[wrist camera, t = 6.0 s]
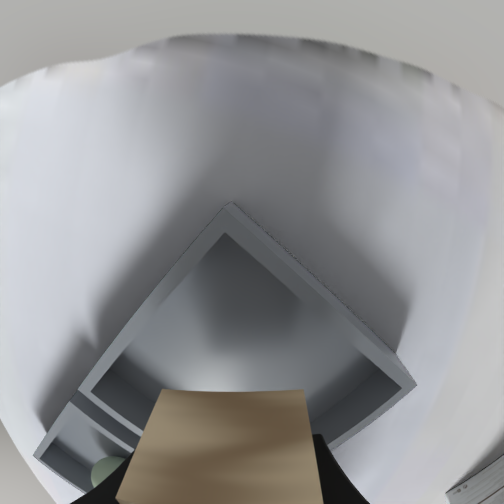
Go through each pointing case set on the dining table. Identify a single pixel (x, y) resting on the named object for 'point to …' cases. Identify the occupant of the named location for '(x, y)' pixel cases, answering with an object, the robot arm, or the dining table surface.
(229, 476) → the letter cube
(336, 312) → the tray near
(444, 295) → the dining table surface
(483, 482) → the supplement box
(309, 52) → the dining table surface
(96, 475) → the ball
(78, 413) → the tray far
